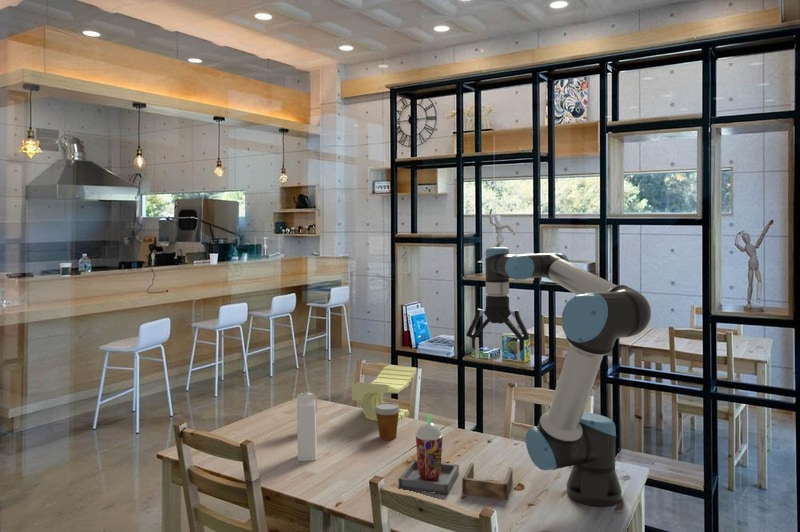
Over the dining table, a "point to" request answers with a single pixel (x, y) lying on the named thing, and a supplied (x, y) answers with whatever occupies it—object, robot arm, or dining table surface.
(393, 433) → the disposable coffee cup
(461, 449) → the dining table surface
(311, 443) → the milk
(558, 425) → the robot arm
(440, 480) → the tray
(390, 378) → the slatted curved stool
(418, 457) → the smoothie
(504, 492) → the open-sided wooden box
